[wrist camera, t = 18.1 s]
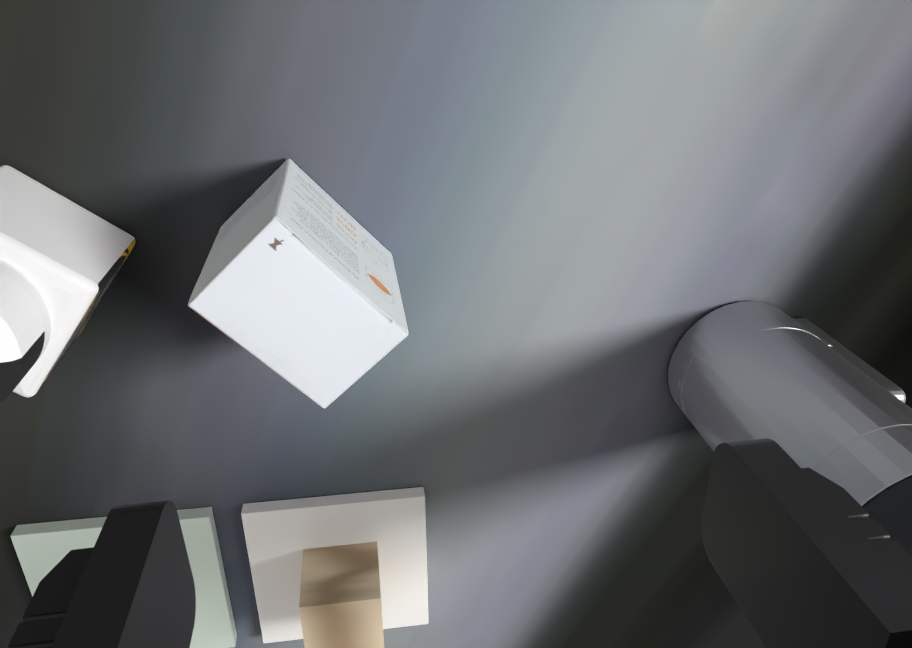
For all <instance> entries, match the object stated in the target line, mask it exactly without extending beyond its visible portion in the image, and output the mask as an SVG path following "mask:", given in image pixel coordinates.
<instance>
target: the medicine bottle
mask: <svg viewBox="0 0 912 648" xmlns="http://www.w3.org/2000/svg"><path fill="white" fill-rule="evenodd" d="M134 246H135V238H134V237H133V236H132V235H130V234H128V233H127V232H125V231H123V230H121V229H119V228H118V227H116V226H114V225H112V224H111V223H109V222H107V221H105V220H104V219H102V218H100V217H98V216H97V215H95V214H93V213H91V212H90V211H88V210H86V209H84V208H83V207H81V206H79V205H77V204H76V203H74V202H72V201H70V200H69V199H67V198H65V197H63V196H62V195H60V194H58V193H56V192H55V191H53V190H51V189H49V188H48V187H46V186H44V185H42V184H41V183H39V182H37V181H35V180H34V179H32V178H30V177H28V176H27V175H25V174H23V173H21V172H20V171H18V170H16V169H14V168H13V167H11V166H8V165H4V166H0V403H1V402H2V401H4V400H5V399H6V398H7V397H8V396H9V395H10V394H11V393H12V391H13V392H15V393H17V394H19V395H22V396H24V397H32V396H34V395H35V394H36V393H37V392H38V390H39V389H40V387H41V386H42V385H43V383H44V382H45V381H46V379H47V378H48V377H49V375H50V374H51V373H52V371H53V370H54V369H55V367H56V366H57V365H58V363H59V362H60V360H61V359H62V358H63V356H64V355H65V354H66V352H67V351H68V350H69V348H70V347H71V346H72V344H73V343H74V342H75V340H76V339H77V337H78V336H79V335H80V333H81V332H82V330H83V328H84V327H85V325H86V324H87V322H88V320H89V319H90V317H91V315H92V314H93V312H94V311H95V309H96V307H97V306H98V304H99V302H100V301H101V299H102V298H103V296H104V294H105V293H106V291H107V289H108V288H109V286H110V285H111V283H112V281H113V280H114V278H115V276H116V275H117V273H118V272H119V270H120V268H121V267H122V265H123V263H124V262H125V260H126V259H127V257H128V255H129V254H130V252H131V250H132V249H133V247H134Z"/></svg>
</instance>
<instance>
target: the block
mask: <svg viewBox="0 0 912 648" xmlns="http://www.w3.org/2000/svg"><path fill="white" fill-rule="evenodd" d="M299 611H300V618H301V625H302V632H303V639H304V646H305V648H384V636H383V620H382V604H381V589H380V575H379V561H378V547H377V542H368V543H358V544H349V545H339V546H330V547H320V548H311V549H303V557H302V572H301V586H300V600H299Z"/></svg>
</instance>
